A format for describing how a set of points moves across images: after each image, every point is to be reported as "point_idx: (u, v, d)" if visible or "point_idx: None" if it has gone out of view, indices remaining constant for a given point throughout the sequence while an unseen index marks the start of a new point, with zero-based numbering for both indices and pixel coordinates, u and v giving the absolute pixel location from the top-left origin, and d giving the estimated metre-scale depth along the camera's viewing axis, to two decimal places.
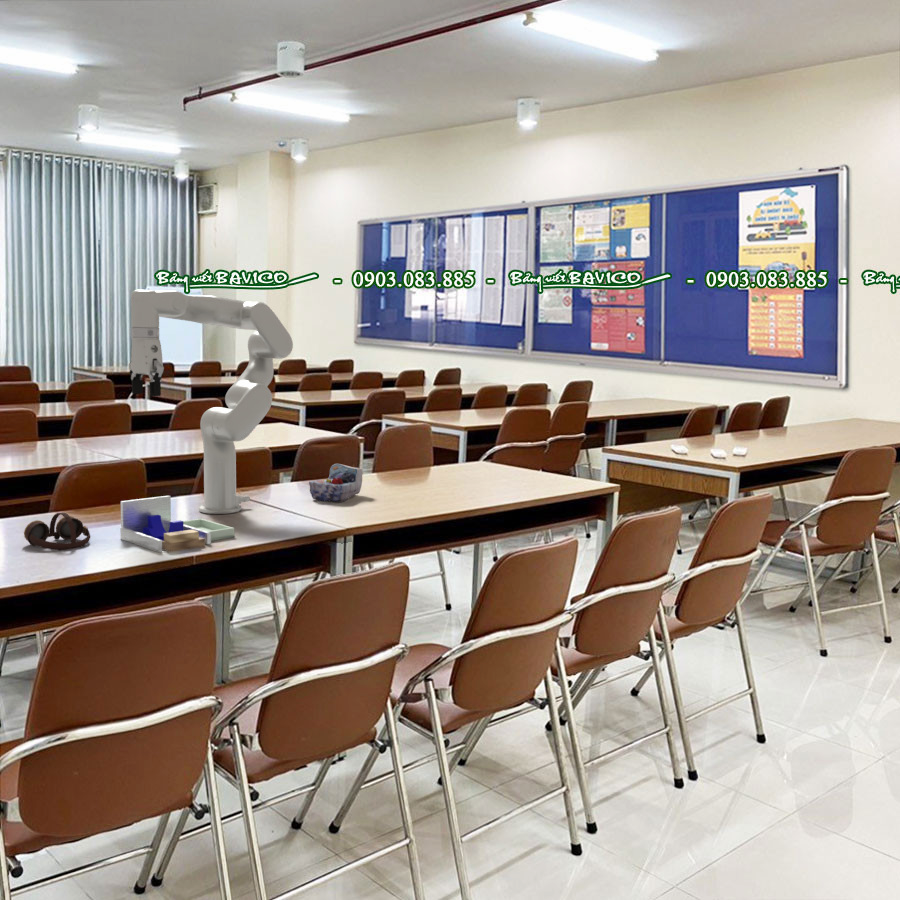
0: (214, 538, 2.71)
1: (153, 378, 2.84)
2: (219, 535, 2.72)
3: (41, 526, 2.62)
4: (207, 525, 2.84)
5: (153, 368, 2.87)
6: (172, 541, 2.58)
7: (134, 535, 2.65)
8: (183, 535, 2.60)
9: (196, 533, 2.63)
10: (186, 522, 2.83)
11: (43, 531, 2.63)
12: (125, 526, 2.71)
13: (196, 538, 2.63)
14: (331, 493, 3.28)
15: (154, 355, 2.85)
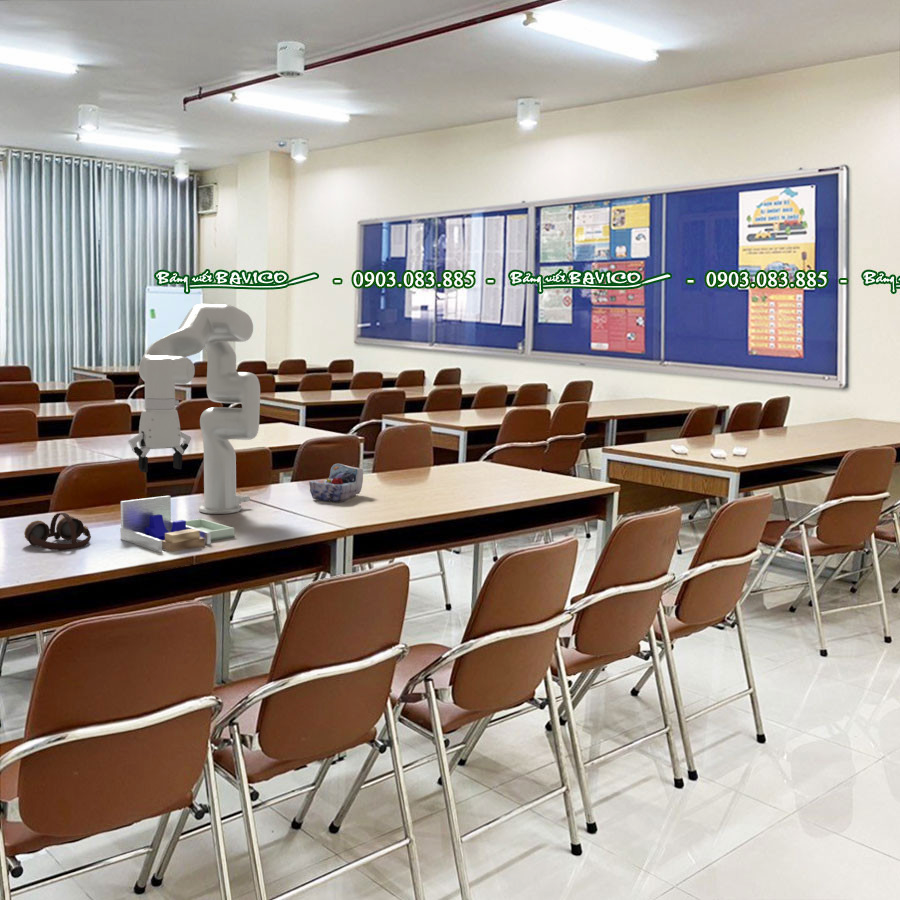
0: (214, 538, 2.71)
1: (183, 450, 2.70)
2: (219, 535, 2.72)
3: (41, 527, 2.62)
4: (207, 525, 2.84)
5: None
6: (174, 541, 2.59)
7: (134, 535, 2.65)
8: (185, 534, 2.61)
9: (197, 532, 2.63)
10: (186, 522, 2.83)
11: (43, 531, 2.63)
12: (125, 526, 2.71)
13: (197, 537, 2.63)
14: (331, 493, 3.28)
15: None
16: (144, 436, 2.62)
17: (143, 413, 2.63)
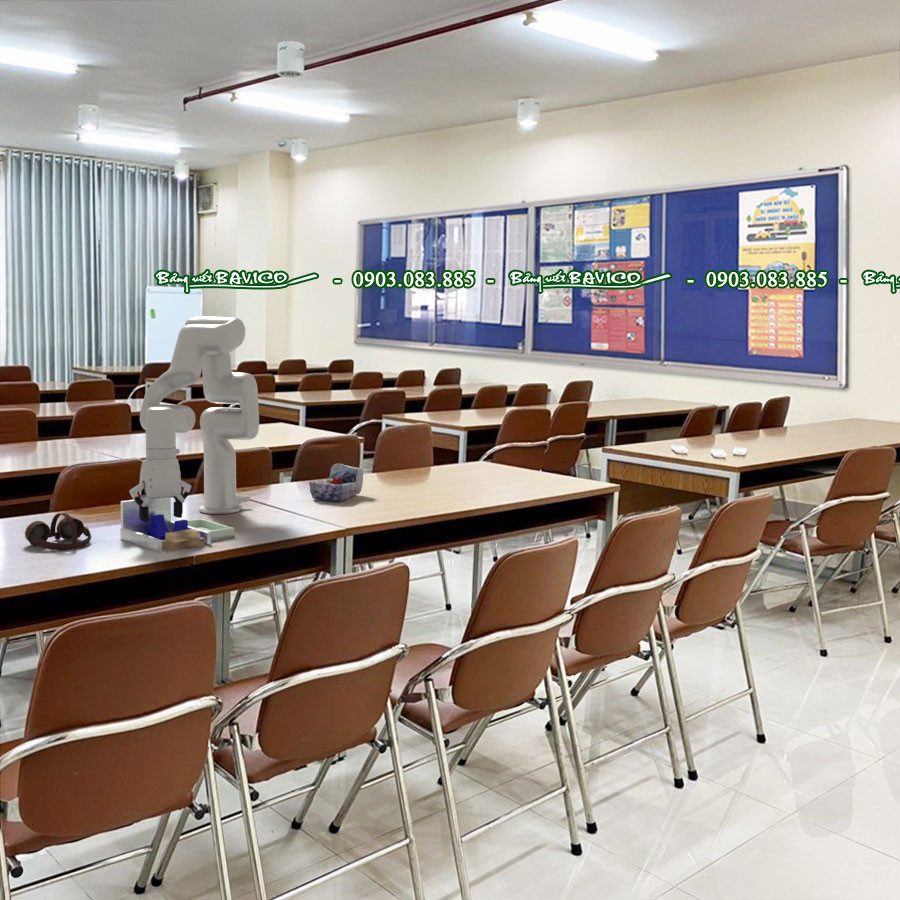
0: (214, 538, 2.71)
1: (183, 498, 2.71)
2: (219, 535, 2.72)
3: (42, 527, 2.62)
4: (207, 525, 2.84)
5: None
6: (175, 541, 2.59)
7: (134, 535, 2.65)
8: (185, 534, 2.61)
9: (197, 532, 2.64)
10: None
11: (44, 531, 2.63)
12: (125, 526, 2.71)
13: (197, 537, 2.64)
14: (331, 493, 3.28)
15: None
16: (145, 486, 2.63)
17: (144, 462, 2.64)
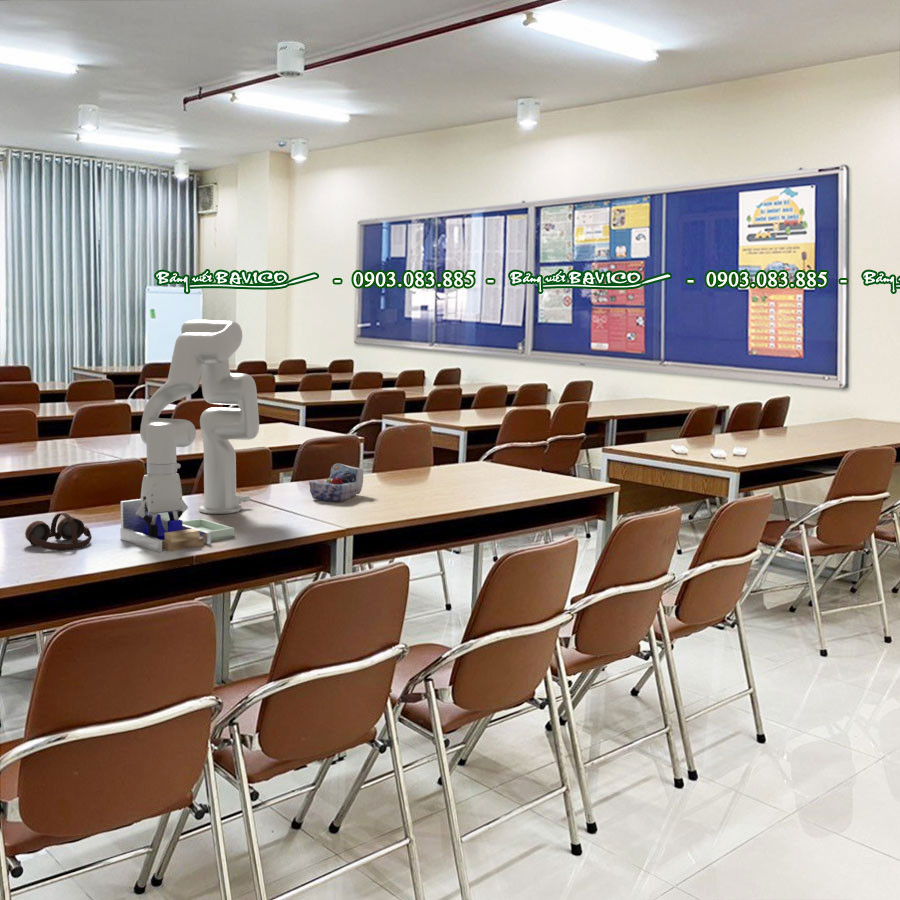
0: (214, 538, 2.71)
1: (177, 517, 2.71)
2: (219, 535, 2.72)
3: (42, 527, 2.62)
4: (207, 525, 2.84)
5: None
6: (173, 540, 2.59)
7: (134, 535, 2.65)
8: (184, 534, 2.61)
9: (197, 532, 2.64)
10: (186, 522, 2.83)
11: (44, 531, 2.63)
12: (125, 526, 2.71)
13: (197, 537, 2.64)
14: (331, 493, 3.28)
15: None
16: (146, 501, 2.64)
17: (145, 478, 2.65)
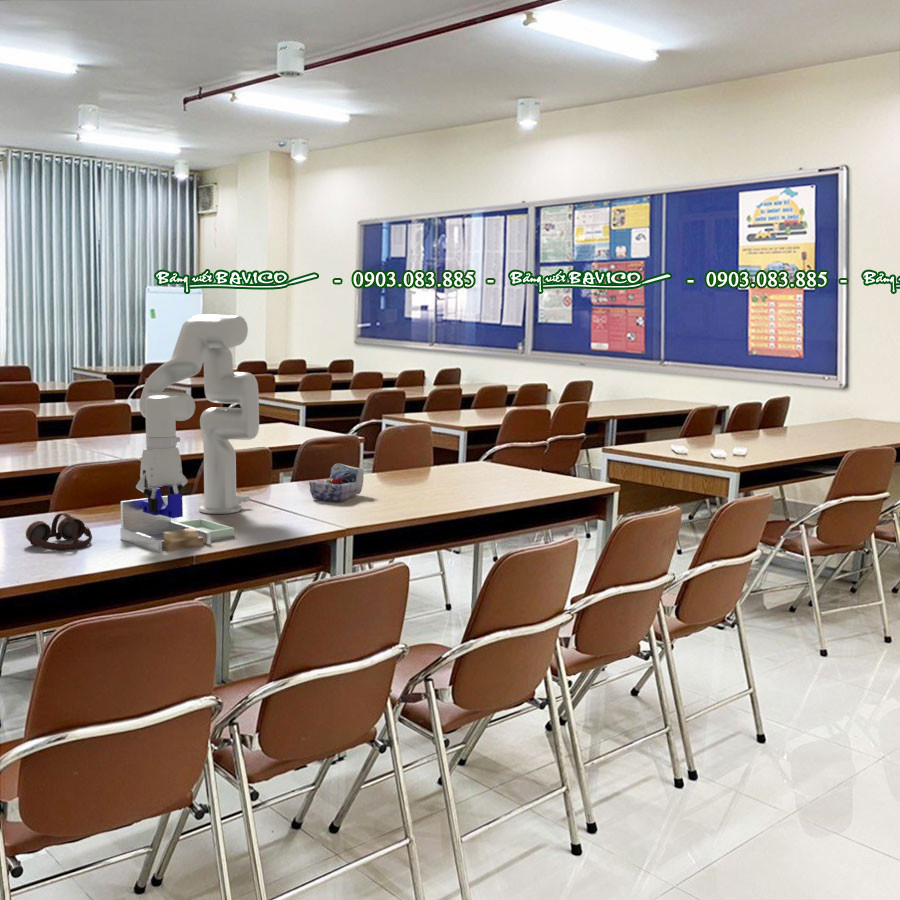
0: (214, 538, 2.71)
1: (177, 491, 2.71)
2: (219, 535, 2.72)
3: (43, 527, 2.62)
4: (207, 525, 2.84)
5: None
6: (173, 540, 2.59)
7: (134, 535, 2.65)
8: (183, 534, 2.61)
9: (195, 532, 2.64)
10: (186, 522, 2.83)
11: (45, 532, 2.63)
12: (125, 526, 2.71)
13: (195, 537, 2.64)
14: (331, 493, 3.28)
15: None
16: (146, 475, 2.64)
17: (144, 451, 2.64)
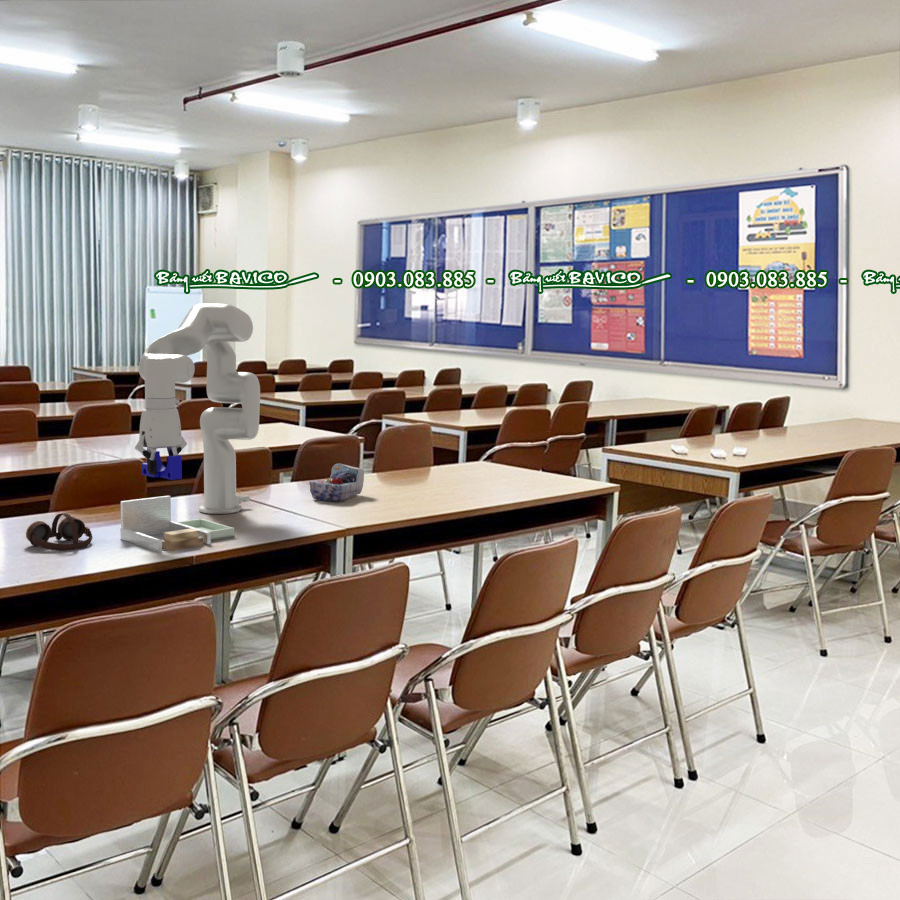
0: (214, 538, 2.71)
1: None
2: (219, 535, 2.72)
3: (43, 527, 2.61)
4: (207, 525, 2.84)
5: None
6: (173, 540, 2.59)
7: (134, 535, 2.65)
8: (183, 534, 2.61)
9: (196, 532, 2.64)
10: (186, 522, 2.83)
11: (45, 532, 2.62)
12: (125, 526, 2.71)
13: (196, 537, 2.64)
14: (331, 493, 3.28)
15: None
16: (145, 436, 2.62)
17: (144, 412, 2.63)
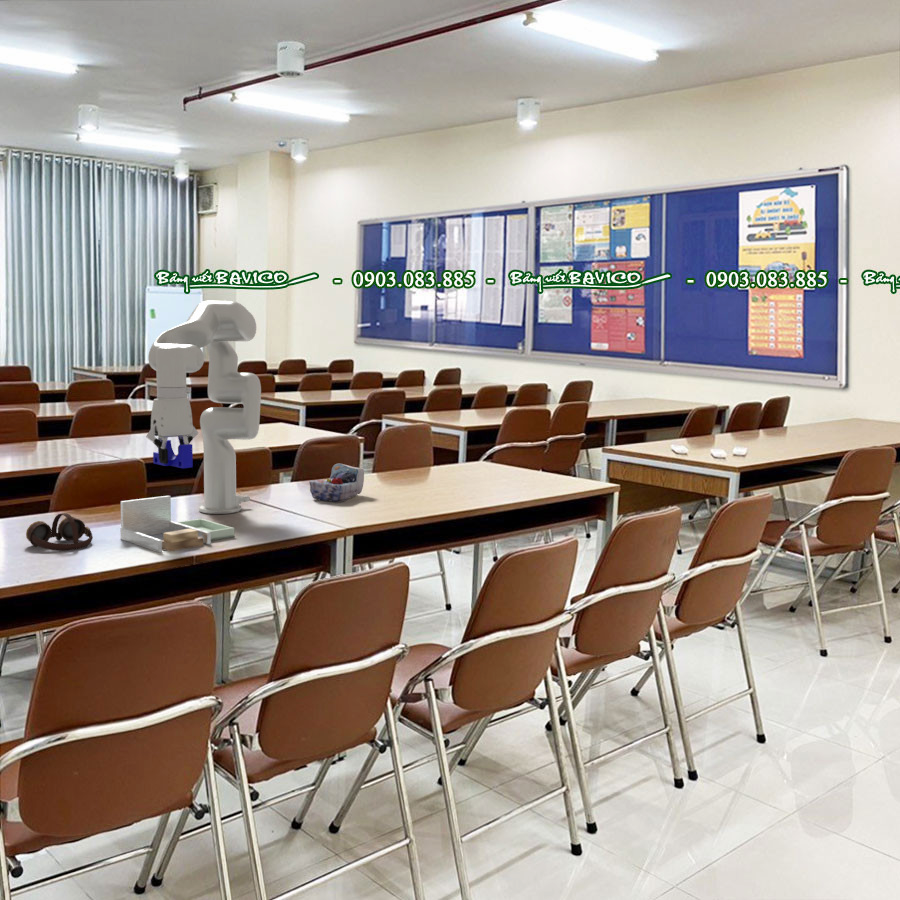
0: (214, 538, 2.71)
1: None
2: (219, 535, 2.72)
3: (43, 527, 2.61)
4: (207, 525, 2.84)
5: None
6: (173, 540, 2.59)
7: (134, 535, 2.65)
8: (183, 534, 2.61)
9: (195, 532, 2.64)
10: (186, 522, 2.83)
11: (45, 532, 2.62)
12: (125, 526, 2.71)
13: (195, 537, 2.64)
14: (331, 493, 3.28)
15: None
16: (156, 424, 2.64)
17: (155, 401, 2.65)
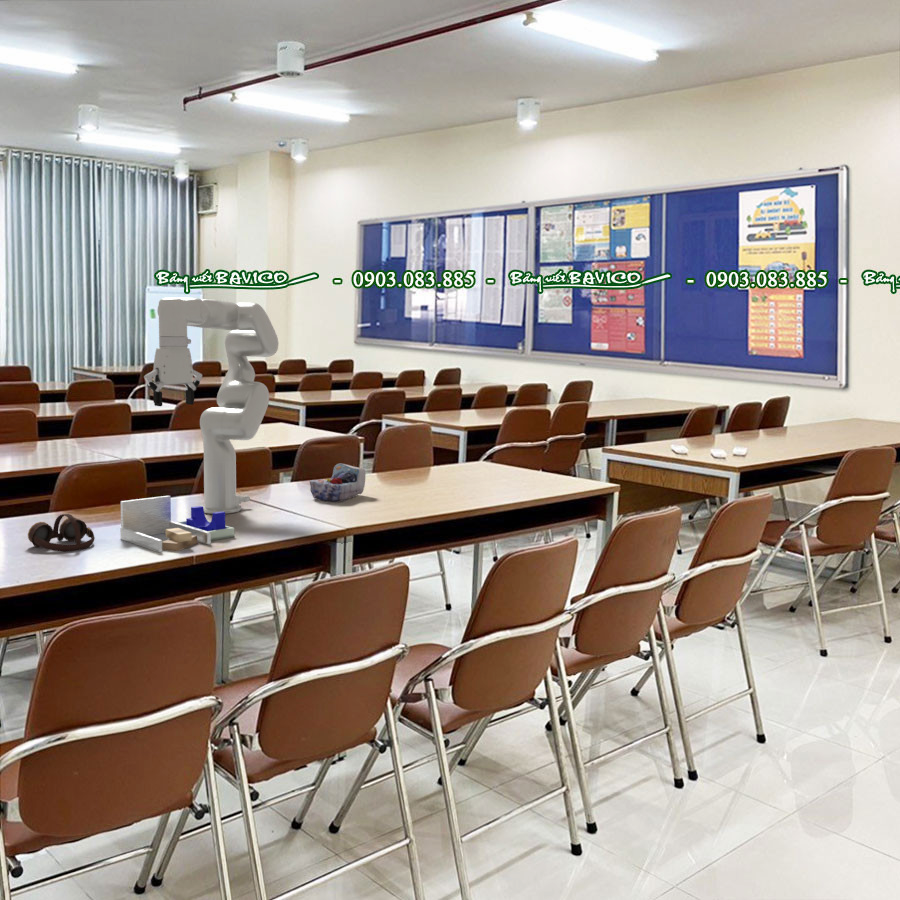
0: (214, 538, 2.71)
1: (194, 386, 2.86)
2: (219, 535, 2.72)
3: (45, 528, 2.61)
4: None
5: None
6: None
7: (134, 535, 2.65)
8: None
9: None
10: None
11: (47, 533, 2.62)
12: (125, 526, 2.71)
13: None
14: (330, 493, 3.29)
15: None
16: (158, 372, 2.78)
17: (157, 350, 2.79)
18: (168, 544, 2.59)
